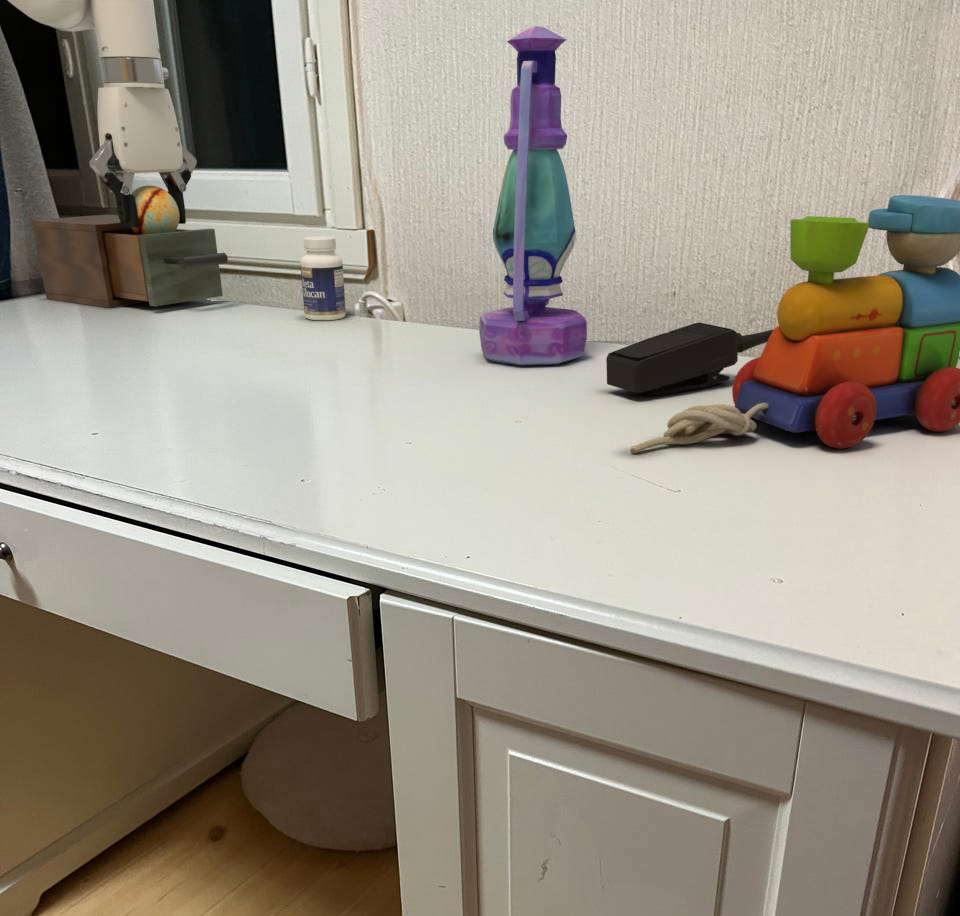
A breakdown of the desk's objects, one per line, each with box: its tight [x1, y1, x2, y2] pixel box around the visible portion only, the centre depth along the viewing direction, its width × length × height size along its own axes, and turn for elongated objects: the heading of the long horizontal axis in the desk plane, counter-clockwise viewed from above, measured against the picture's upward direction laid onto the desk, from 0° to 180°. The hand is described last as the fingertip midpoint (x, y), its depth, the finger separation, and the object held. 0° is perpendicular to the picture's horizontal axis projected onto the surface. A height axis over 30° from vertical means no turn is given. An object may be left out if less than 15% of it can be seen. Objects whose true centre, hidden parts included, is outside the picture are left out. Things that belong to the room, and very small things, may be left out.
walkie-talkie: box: [605, 322, 774, 396], centre depth 92 cm, size 6×6×20 cm
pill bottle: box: [299, 235, 347, 321], centre depth 127 cm, size 5×5×10 cm
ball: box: [130, 185, 180, 235], centre depth 134 cm, size 7×7×7 cm
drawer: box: [101, 228, 229, 307], centre depth 137 cm, size 20×12×9 cm, turn 53°
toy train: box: [629, 194, 960, 454], centre depth 74 cm, size 12×29×17 cm, turn 115°
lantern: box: [478, 25, 588, 366], centre depth 98 cm, size 13×12×30 cm
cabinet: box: [30, 214, 149, 309], centre depth 144 cm, size 16×13×11 cm
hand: (154, 224), depth 135 cm, fingers closed on ball, 7 cm apart
